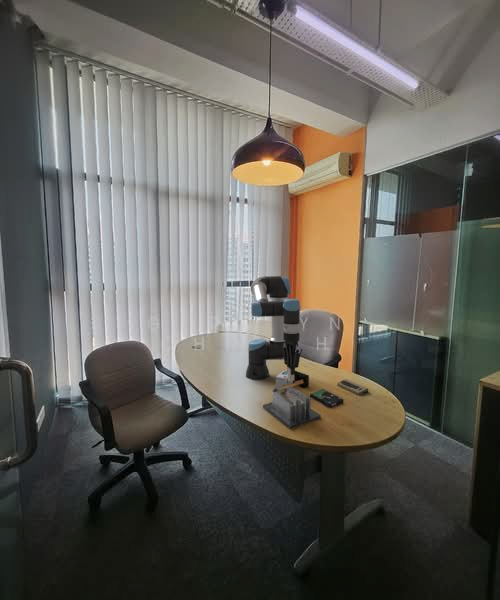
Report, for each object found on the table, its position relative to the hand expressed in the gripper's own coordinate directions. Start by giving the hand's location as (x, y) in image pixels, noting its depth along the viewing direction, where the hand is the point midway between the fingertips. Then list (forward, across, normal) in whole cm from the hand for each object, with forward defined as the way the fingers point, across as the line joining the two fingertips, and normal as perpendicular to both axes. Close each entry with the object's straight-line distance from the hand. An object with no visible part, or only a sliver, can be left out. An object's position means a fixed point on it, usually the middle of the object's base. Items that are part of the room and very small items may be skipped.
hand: (291, 380), depth 133 cm
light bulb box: (+17, -20, +11) cm, 28 cm away
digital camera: (+17, -23, +24) cm, 38 cm away
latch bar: (+4, -1, 0) cm, 4 cm away
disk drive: (+17, -1, +24) cm, 30 cm away
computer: (+17, -3, +47) cm, 50 cm away
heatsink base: (+16, 0, 0) cm, 16 cm away
